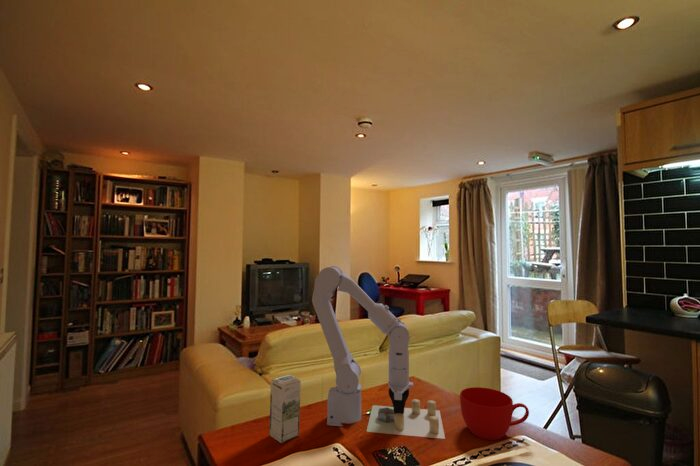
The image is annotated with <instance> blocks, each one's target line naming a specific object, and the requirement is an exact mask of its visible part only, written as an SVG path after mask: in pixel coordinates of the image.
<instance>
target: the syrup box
mask: <svg viewBox="0 0 700 466" xmlns="http://www.w3.org/2000/svg"><path fill="white" fill-rule="evenodd" d="M301 384H302V381H301V380H300V379H299V378H297V377H296V376H294V375H291V374H286V375H283V376H280V377H276V378H272V379H271V380H270V392H269V393H270V394H269V396H270V397H269V402H270V403H269V426H268V427H269V429H268V430H269V431H268V432H269V433H268V434H269V436H270V437H271V438H273V440H276V441H278V443H280V444H283V443H285V442H287V441H289V440H292V439H295V438H296V437H298V436H300V423H301V421H300V418H301Z"/></svg>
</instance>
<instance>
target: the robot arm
mask: <svg viewBox="0 0 700 466" xmlns="http://www.w3.org/2000/svg"><path fill="white" fill-rule="evenodd" d="M336 290H337V291H338V292H343V293H347V294H349V295H350V296H351V297H352V298H353V299H354V300H355V301H356V302H357V303H358V304H359V305H361V306H362V308H364V309H365V310H366V311H367V318H368V319H369V320H370V321H371V322H372V323H373V324H374V326H375V327H376V328H378V329H379V330H380V331H381V332H382V334H385V335H387V338H388V341H389V349H388V382H387V386H388V387H389V388H388V396H389V398H390V400H391V402H392V403H391V404H392V407H393V408H394V414H396V413H401V414H404V408H406V407H405V406H406V402H407V401H408V398H409V395H410V388H413V387H414V382H413V381H410V350H409V342H410V340H411V337H410V333H409V329H408V327H407V325H406V324H405V323H404V322H403V321H402V320H401V319H400V318H399V317H396V316H395V315H394V314H393V313H392V312H391V311H390V310H389V309H390V307H389V306H388V305H387V304H385V305H384V304H383V303H380V302H379V303H378V302H375V301H374V300H373V299H372V298H371V297H370V296H369V295H368V294H367V293H366V292H365V291H364V290H363V289H362V287H360V286H359V284H358V283H357V282H356V281H355V280H354V279H353V278H352V277H350V276H349V275H348V274H347V273H345V272H343V270H342V269H341V268H340V267H338V266H333V265H331V266H326V267H325V268H322V269H320V271H319V273H318V274H317V275H316V278H315V279H314V287H313V292H312V298H311V302H312V305H313V308H314V311H315V313H316V316H317V320H318V322H319V324H320V327H321V329H322V332H323V335H324V337H325V340H326V343H327V346H328V349H329V351H330V353H331V356H332V360H333V366H334V367H333V368H334V372H335V376H336V377H335V386H331V387H330V388H329V389H328V393H327V394H328V395H327V407H326V408H327V414H326V415H327V417H326V418H327V420H326V421H327V422H326V425H327V426H331V427H332V426H333V427H344V425H343V424H355V423H358V422H360V421H361V419H362V385H361V384H360V383H359V379H360V376H361V372H362V371H361V366H360V364H359V363H358V362H357V361H355V359H354V357H353V354H352V353H351V352H350V351H349V349H348V345H347V342H346V340H345V338H344V335H343V333H342V329H341V327H340V324H339V322H338V319H337V316H336V314H335V311H334V308H333V305H332V303H331V299H332V297H333V295H334V293H335V291H336Z"/></svg>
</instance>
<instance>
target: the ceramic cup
mask: <svg viewBox="0 0 700 466" xmlns="http://www.w3.org/2000/svg"><path fill="white" fill-rule="evenodd" d="M459 400H460V401H459V402H460V404H459V405H460V409H461V415H462V418H463V422H464V423H465V425H466V427H467V428H468V429H469V431H470V432H471V434H473V435H474V436H475V437H477V438H480V439H482V440H483V439H484V440H489V441H495V440H500V439H502V438H504V436H505V435H506V433H507V432H508V431H509V430H510V427H512V426H516V425H519V424H522V423H524V422H525V421H526V420H527V419H528V417H529V416H530V411H529V408H528V406H527V405H526V404H523V403H521V402H519V403H514V401H513V399H512V398H511V396H509V395H508V394H506V393H505V392H503V391H501V390H497V389H493V388H489V387H488V388H487V387H479V386H478V387H467V388H464V389H462V390H461V391H460V393H459ZM517 408H524V409H525V413H524V415H523V416H522V417H521V418H519V419H516V420H513V421H512V419H513V418H512V417H513V414H514V411H515V410H516V409H517Z"/></svg>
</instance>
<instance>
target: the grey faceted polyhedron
mask: <svg viewBox="0 0 700 466" xmlns="http://www.w3.org/2000/svg"><path fill="white" fill-rule="evenodd" d="M378 420H379V421H382V422H384V423H390V422H394V420H395V414H394V410H393V409H390V408H381V409H379V411H378Z"/></svg>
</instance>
